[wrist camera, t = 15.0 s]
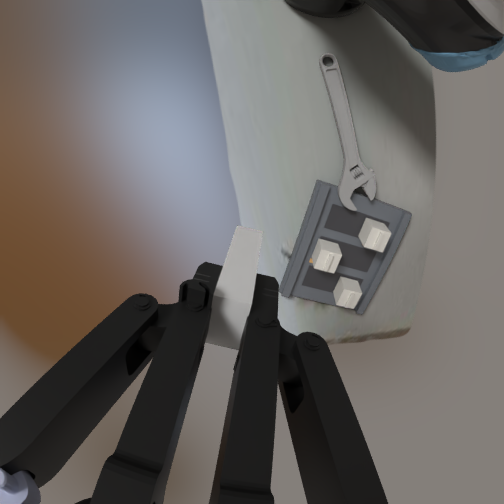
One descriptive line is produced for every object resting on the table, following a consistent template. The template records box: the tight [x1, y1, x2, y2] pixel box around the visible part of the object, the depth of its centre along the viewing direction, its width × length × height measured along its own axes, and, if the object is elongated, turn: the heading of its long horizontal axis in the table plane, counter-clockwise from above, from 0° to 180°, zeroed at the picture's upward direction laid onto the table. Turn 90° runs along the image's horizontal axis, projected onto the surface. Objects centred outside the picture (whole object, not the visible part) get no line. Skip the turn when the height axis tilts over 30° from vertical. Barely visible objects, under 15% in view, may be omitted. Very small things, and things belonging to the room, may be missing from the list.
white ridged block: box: [333, 276, 362, 309], centre depth 51 cm, size 4×4×5 cm
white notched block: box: [358, 218, 391, 253], centre depth 46 cm, size 4×4×5 cm
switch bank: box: [279, 180, 412, 314], centre depth 51 cm, size 22×18×2 cm
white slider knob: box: [312, 239, 342, 273], centre depth 48 cm, size 4×4×5 cm
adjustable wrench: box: [319, 53, 376, 211], centre depth 40 cm, size 25×6×2 cm, turn 11°
